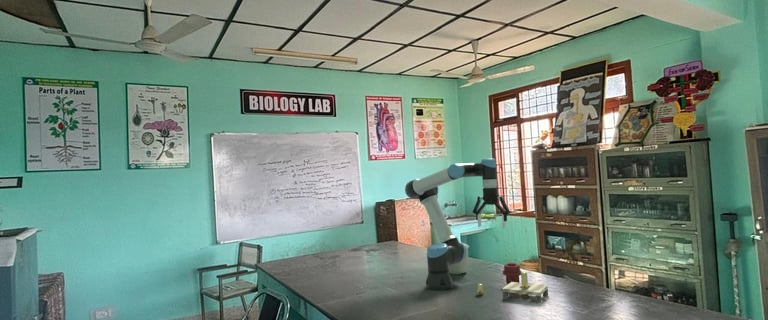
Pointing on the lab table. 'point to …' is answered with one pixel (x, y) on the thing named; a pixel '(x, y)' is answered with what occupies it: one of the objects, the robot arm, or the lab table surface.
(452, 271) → the canister
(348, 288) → the lab table surface
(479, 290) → the short pin
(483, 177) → the robot arm
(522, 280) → the long pin
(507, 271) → the mechanical component
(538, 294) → the stand
